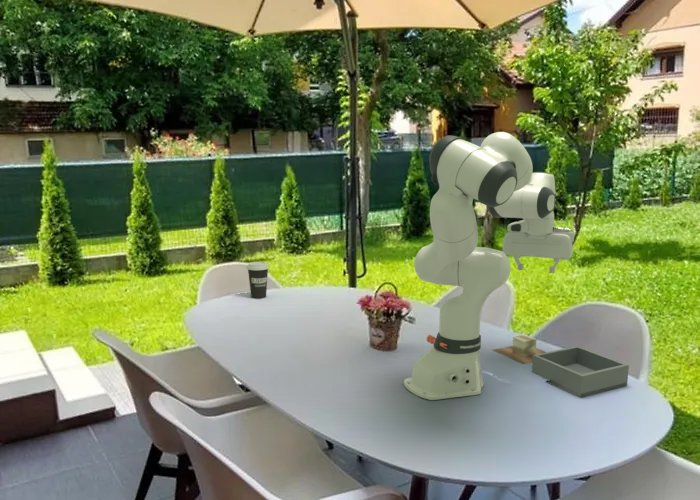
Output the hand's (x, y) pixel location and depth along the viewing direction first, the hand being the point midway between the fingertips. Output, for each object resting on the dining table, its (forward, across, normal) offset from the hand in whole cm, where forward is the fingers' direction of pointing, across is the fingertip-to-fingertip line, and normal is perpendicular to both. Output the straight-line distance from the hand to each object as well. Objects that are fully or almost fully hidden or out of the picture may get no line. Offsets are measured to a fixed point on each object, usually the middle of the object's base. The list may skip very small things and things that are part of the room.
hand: (536, 271), depth 183 cm
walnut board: (+28, +3, -2) cm, 28 cm away
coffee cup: (+28, +122, -22) cm, 127 cm away
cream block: (+27, +3, -2) cm, 27 cm away
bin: (+28, -15, +11) cm, 34 cm away
